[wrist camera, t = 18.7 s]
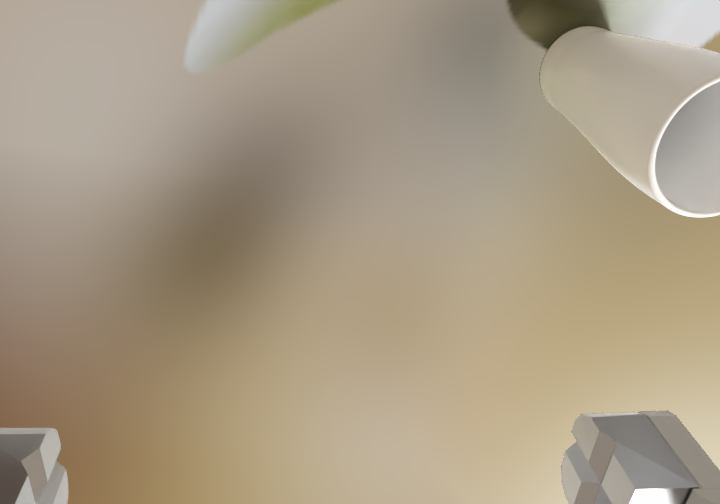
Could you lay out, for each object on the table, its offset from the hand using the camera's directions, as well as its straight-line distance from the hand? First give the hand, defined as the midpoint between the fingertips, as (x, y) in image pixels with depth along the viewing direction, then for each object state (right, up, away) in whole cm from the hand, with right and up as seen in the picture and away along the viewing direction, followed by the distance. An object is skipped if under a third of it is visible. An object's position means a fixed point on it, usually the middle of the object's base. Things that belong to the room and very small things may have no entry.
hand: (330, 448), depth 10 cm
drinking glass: (+14, +15, +30) cm, 36 cm away
